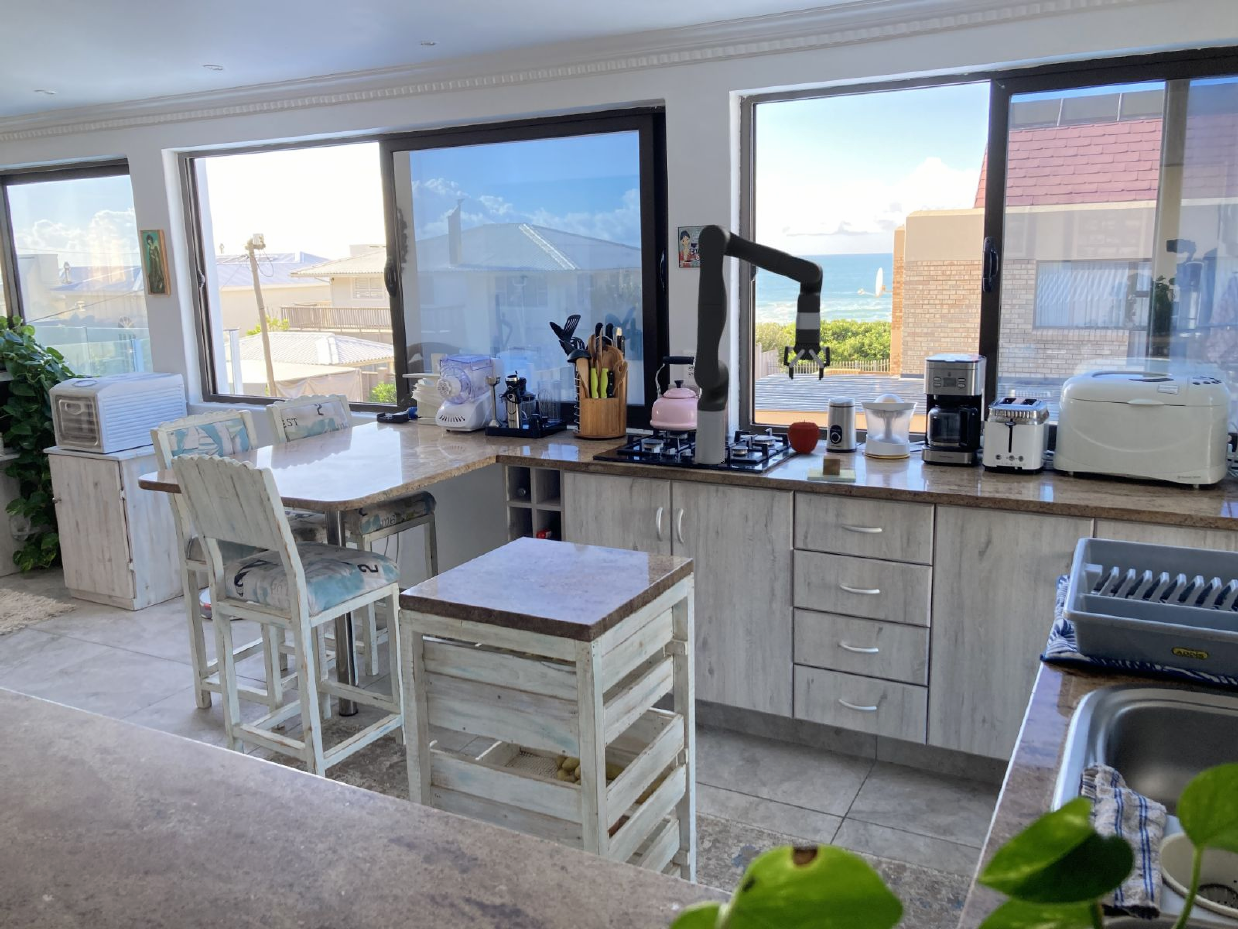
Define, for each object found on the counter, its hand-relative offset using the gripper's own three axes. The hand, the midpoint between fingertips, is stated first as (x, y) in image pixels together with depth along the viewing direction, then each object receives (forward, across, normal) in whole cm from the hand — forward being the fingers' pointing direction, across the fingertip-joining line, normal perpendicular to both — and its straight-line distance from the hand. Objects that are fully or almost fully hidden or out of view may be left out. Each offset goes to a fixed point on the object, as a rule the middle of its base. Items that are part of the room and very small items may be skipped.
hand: (806, 379), depth 303 cm
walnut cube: (+27, +9, -11) cm, 31 cm away
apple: (+28, -1, +25) cm, 38 cm away
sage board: (+28, +9, -11) cm, 31 cm away
